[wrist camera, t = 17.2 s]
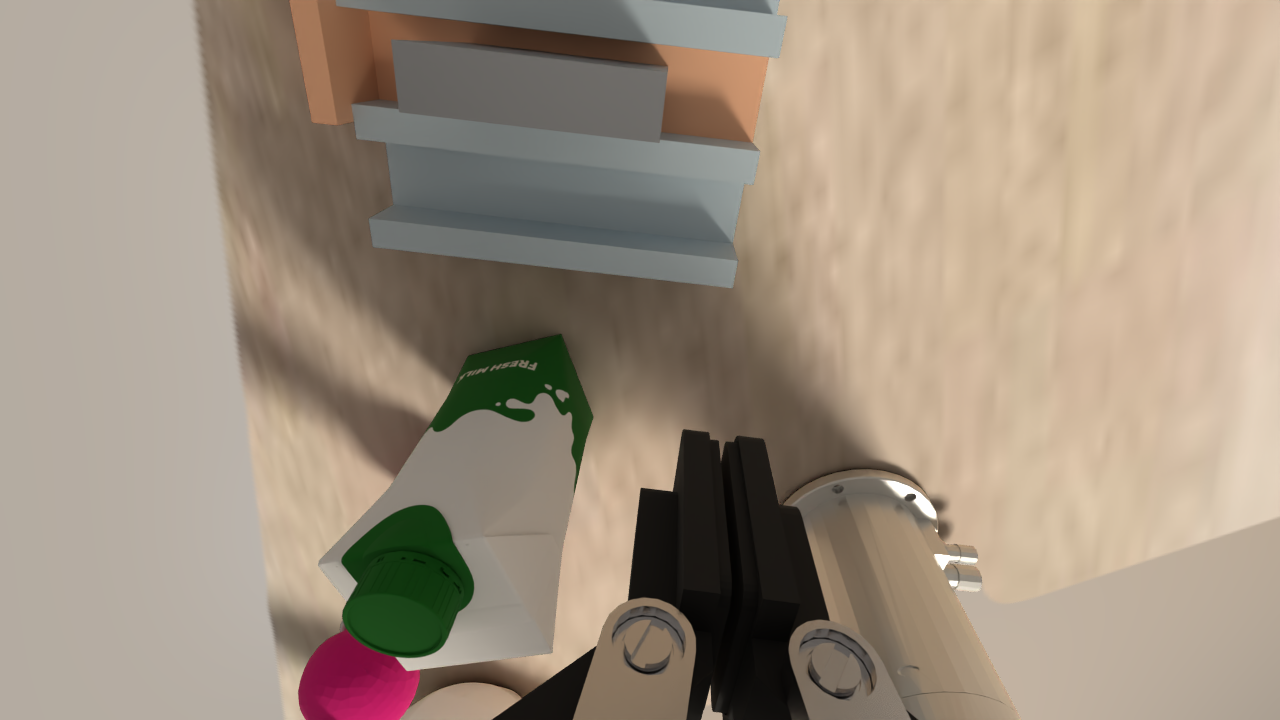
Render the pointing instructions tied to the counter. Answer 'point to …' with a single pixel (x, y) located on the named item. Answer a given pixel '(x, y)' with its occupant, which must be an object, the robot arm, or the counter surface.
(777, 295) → the counter surface
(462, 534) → the milk carton
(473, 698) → the decorative rooster
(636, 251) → the rack
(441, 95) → the panel
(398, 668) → the pepper mill
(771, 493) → the robot arm
